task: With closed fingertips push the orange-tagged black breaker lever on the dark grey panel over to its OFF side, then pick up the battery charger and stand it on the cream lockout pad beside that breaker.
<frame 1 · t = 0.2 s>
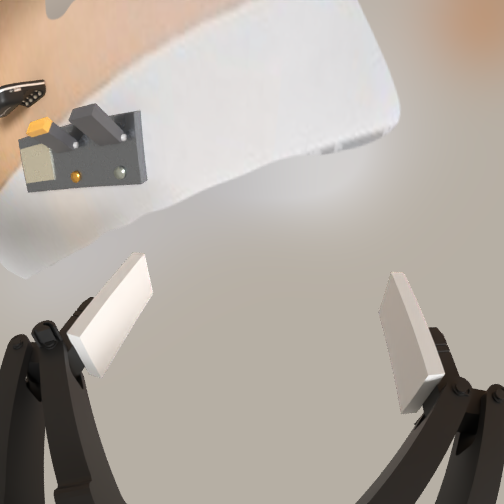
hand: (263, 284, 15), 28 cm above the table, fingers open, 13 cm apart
panel: (75, 154, 42), on the table
lever 2: (52, 137, 35), point 6 cm above the table, hinge at -38.0°
lever 1: (98, 127, 33), point 6 cm above the table, hinge at -38.0°
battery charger: (37, 95, 37), on the table
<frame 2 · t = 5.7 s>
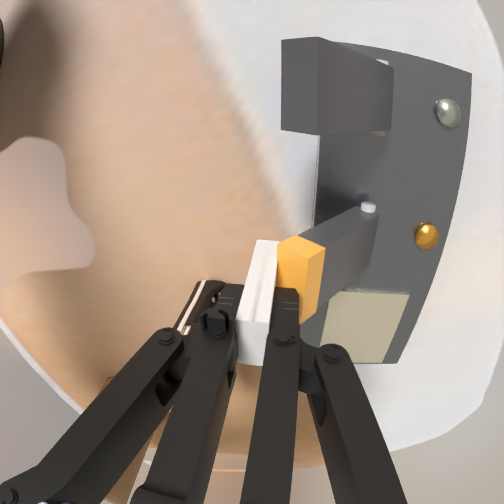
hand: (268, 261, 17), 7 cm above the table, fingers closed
wooden block: (135, 397, 44), on the table
panel: (377, 231, 23), on the table
lever 2: (335, 255, 17), point 6 cm above the table, hinge at -37.8°, touching gripper
lever 1: (350, 91, 13), point 6 cm above the table, hinge at -38.0°
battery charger: (225, 303, 29), on the table
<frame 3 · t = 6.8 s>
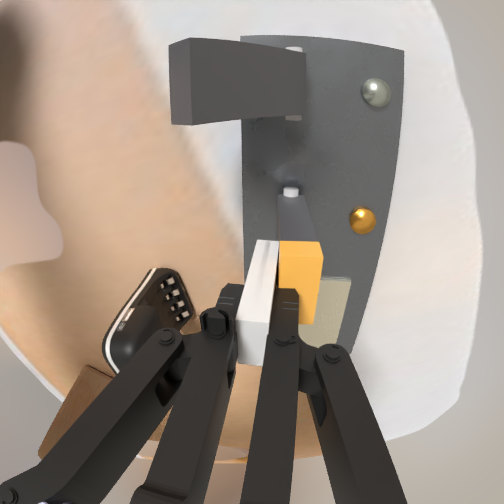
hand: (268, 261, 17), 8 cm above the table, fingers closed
wooden block: (111, 386, 45), on the table
panel: (314, 217, 24), on the table
lever 2: (293, 248, 18), point 7 cm above the table, hinge at 4.7°, touching gripper
lever 1: (249, 80, 14), point 6 cm above the table, hinge at -38.0°
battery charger: (177, 290, 30), on the table
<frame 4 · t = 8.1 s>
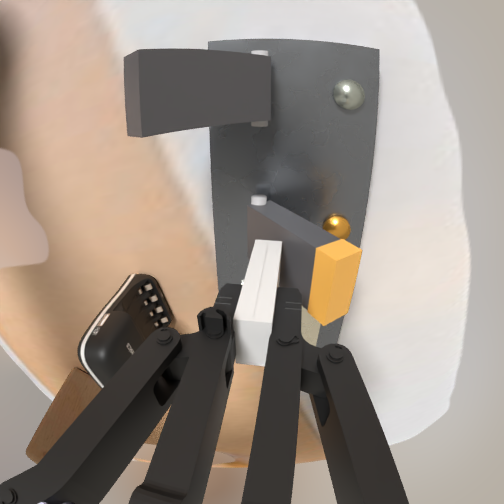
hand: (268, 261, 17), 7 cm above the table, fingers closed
wooden block: (99, 388, 45), on the table
panel: (288, 225, 24), on the table
lever 2: (292, 253, 18), point 6 cm above the table, hinge at 39.5°, touching gripper
lever 1: (208, 88, 13), point 6 cm above the table, hinge at -38.0°
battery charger: (156, 296, 30), on the table
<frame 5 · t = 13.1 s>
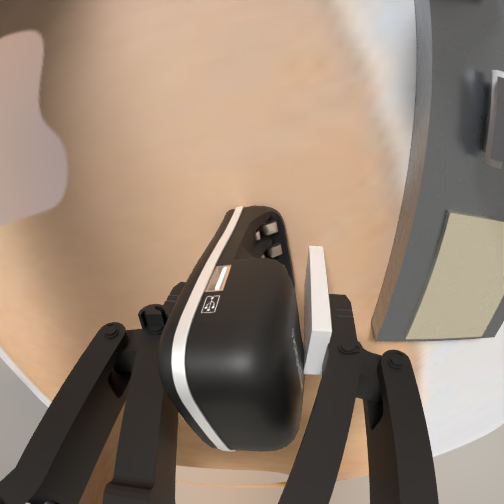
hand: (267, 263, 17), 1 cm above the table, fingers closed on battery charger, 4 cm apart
wooden block: (125, 404, 33), on the table
panel: (490, 135, 12), on the table
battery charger: (270, 251, 18), on the table, touching gripper
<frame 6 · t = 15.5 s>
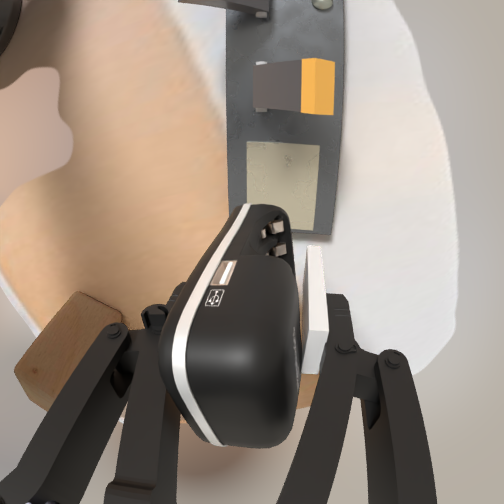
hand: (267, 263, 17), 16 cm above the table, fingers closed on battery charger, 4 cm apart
wooden block: (100, 317, 48), on the table
panel: (284, 97, 27), on the table
lever 2: (287, 86, 21), point 6 cm above the table, hinge at 39.5°
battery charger: (274, 250, 18), point 15 cm above the table, touching gripper
when the fingers open (4 cm above the table, at t = 18.0 s): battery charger stays where it is, resting on panel.
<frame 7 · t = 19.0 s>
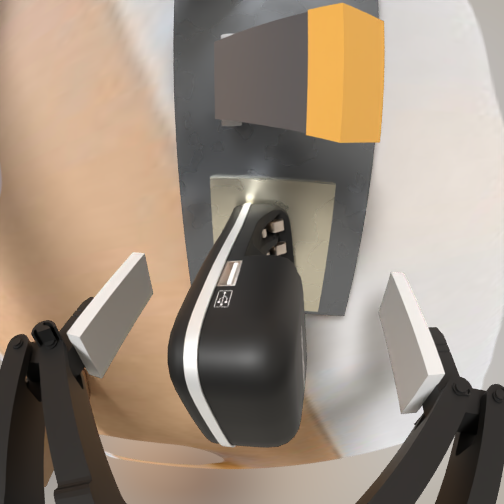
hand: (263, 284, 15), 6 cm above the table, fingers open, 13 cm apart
wooden block: (64, 368, 37), on the table
panel: (276, 98, 16), on the table
lever 2: (276, 75, 10), point 6 cm above the table, hinge at 39.5°
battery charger: (273, 249, 18), point 2 cm above the table, touching panel
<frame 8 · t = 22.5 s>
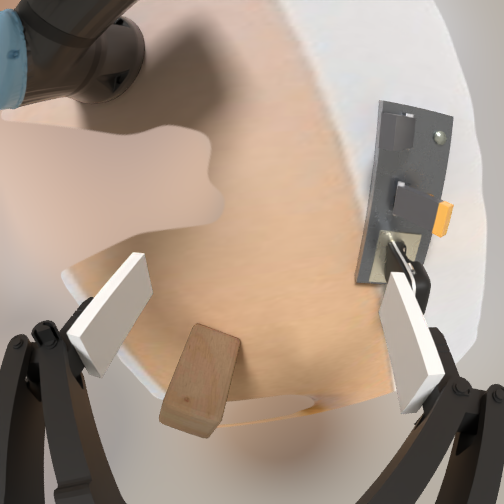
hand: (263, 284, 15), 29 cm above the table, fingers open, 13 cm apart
wooden block: (213, 343, 61), on the table
panel: (403, 199, 40), on the table
lever 2: (420, 208, 34), point 6 cm above the table, hinge at 39.5°
lever 1: (399, 131, 30), point 6 cm above the table, hinge at -38.0°
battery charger: (396, 258, 42), point 2 cm above the table, touching panel
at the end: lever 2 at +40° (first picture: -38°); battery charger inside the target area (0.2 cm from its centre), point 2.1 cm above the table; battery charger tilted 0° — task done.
